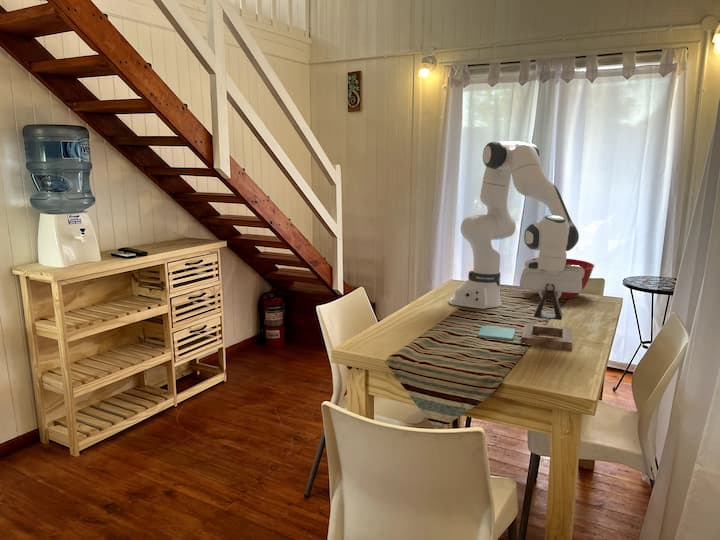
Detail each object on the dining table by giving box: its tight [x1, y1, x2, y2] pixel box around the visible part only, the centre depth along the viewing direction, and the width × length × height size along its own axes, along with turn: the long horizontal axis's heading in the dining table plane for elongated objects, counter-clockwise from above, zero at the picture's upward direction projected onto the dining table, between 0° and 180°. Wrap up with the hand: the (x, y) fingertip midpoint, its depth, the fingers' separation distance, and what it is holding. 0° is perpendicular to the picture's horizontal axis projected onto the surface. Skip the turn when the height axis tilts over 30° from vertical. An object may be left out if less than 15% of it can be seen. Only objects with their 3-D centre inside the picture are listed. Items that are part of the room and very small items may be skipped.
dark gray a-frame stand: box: [533, 284, 563, 321], centre depth 186 cm, size 9×6×12 cm, turn 68°
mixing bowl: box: [542, 258, 595, 300], centre depth 251 cm, size 28×28×16 cm
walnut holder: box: [520, 322, 573, 351], centre depth 189 cm, size 16×18×2 cm
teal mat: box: [477, 325, 517, 341], centre depth 195 cm, size 12×12×1 cm
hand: (549, 303), depth 186 cm, fingers closed on dark gray a-frame stand, 2 cm apart
